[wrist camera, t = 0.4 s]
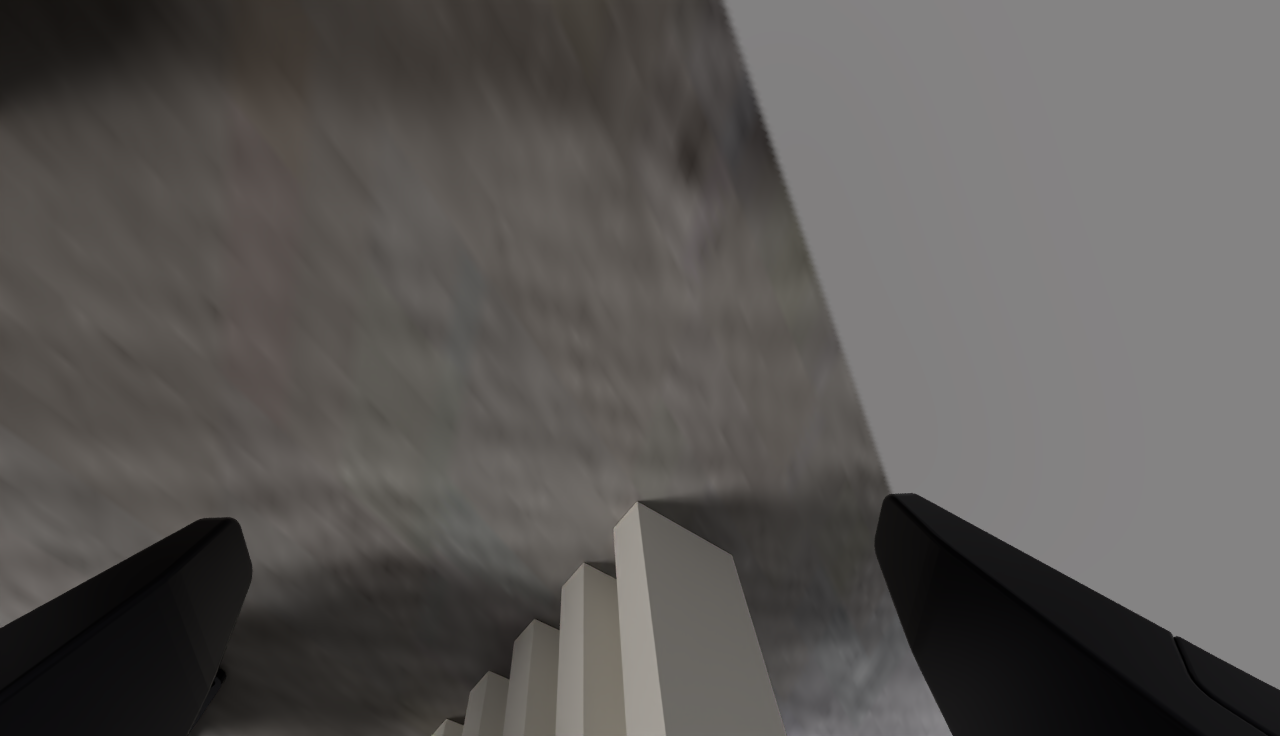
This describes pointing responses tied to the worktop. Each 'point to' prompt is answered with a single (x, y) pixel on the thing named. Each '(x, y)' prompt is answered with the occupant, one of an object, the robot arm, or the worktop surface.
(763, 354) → the worktop surface
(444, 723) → the domino
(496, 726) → the domino
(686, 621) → the domino
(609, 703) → the domino
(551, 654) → the domino
